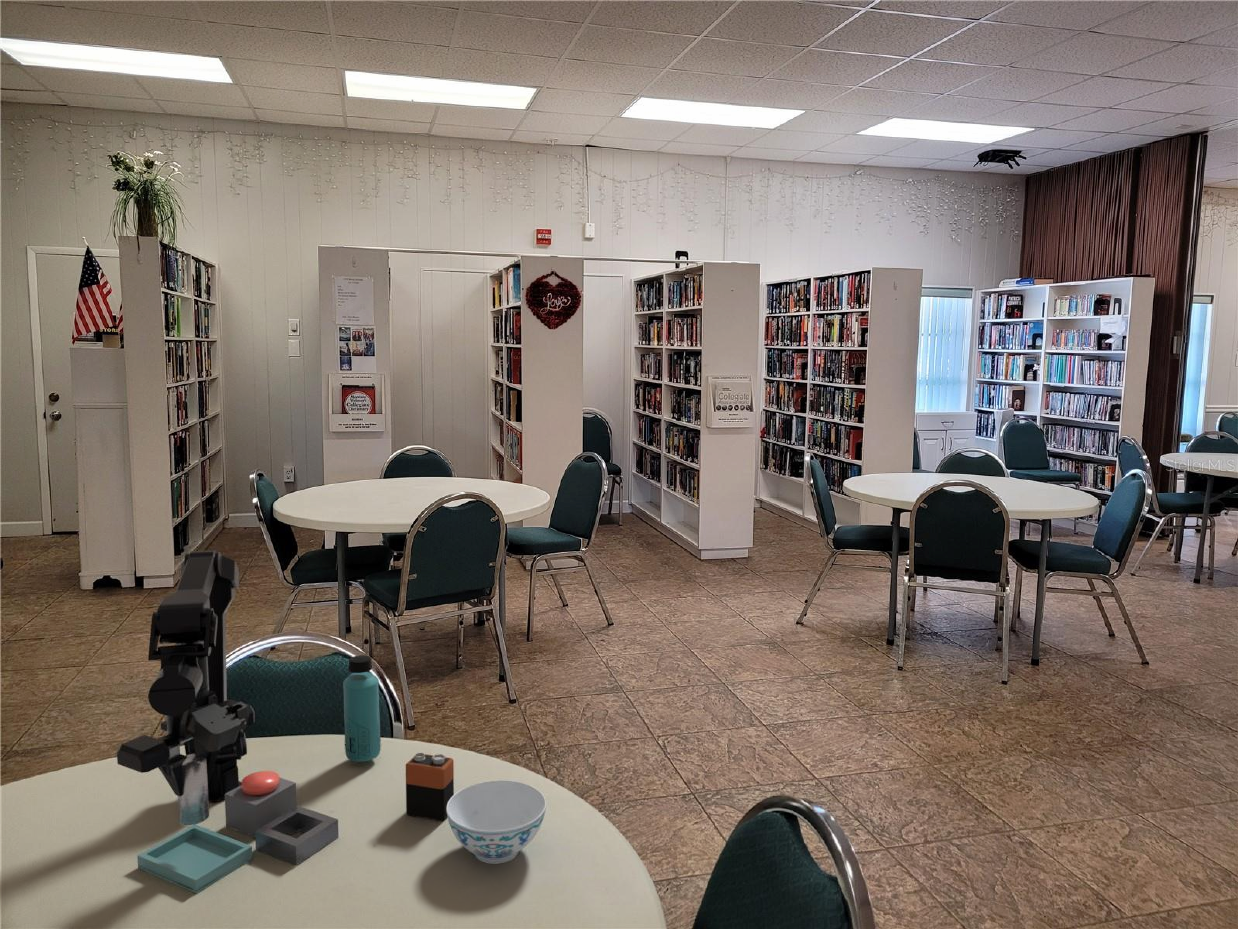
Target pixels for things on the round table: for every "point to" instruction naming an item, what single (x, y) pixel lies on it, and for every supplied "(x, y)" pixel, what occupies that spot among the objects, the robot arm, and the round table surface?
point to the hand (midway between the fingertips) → (192, 788)
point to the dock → (258, 807)
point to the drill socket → (294, 850)
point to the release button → (260, 783)
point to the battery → (429, 785)
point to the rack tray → (195, 858)
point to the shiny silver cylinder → (194, 791)
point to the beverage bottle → (361, 711)
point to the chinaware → (496, 818)
